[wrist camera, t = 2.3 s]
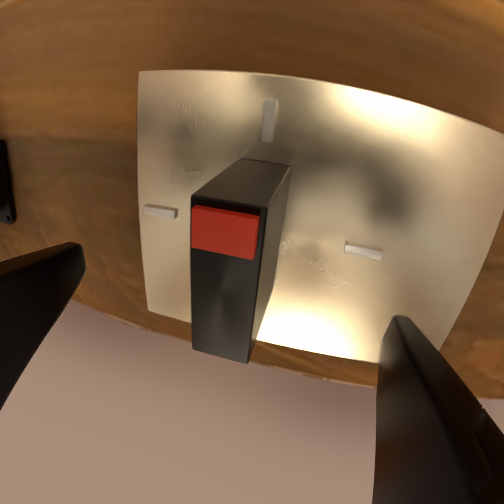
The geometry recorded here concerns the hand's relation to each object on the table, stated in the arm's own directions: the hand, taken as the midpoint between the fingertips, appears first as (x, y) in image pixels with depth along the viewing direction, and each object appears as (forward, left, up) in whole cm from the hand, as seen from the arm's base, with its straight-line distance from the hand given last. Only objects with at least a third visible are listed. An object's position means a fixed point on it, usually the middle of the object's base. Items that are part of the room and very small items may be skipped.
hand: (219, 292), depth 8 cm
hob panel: (+2, 0, -7) cm, 7 cm away
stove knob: (0, 0, -4) cm, 4 cm away
